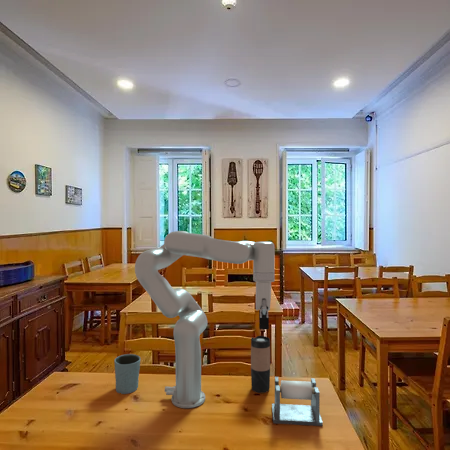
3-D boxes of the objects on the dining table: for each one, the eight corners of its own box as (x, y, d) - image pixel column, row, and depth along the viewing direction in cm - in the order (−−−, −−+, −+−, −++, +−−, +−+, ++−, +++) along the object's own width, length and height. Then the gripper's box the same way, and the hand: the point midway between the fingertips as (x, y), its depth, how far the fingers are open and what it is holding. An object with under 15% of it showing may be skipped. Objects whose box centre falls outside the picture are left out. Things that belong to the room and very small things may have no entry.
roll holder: (273, 423, 112) (273, 390, 112) (271, 406, 122) (271, 376, 122) (322, 426, 111) (322, 392, 110) (317, 409, 121) (317, 378, 120)
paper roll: (277, 401, 114) (277, 384, 114) (276, 393, 120) (276, 377, 120) (317, 403, 113) (317, 386, 113) (314, 394, 118) (314, 378, 118)
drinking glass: (121, 381, 141) (121, 353, 141) (144, 383, 140) (144, 354, 140) (109, 394, 131) (109, 363, 131) (134, 396, 130) (134, 364, 130)
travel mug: (269, 394, 131) (269, 342, 131) (249, 392, 132) (249, 341, 132) (270, 385, 138) (270, 336, 138) (252, 383, 140) (252, 335, 140)
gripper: (253, 272, 129) (253, 317, 129) (252, 280, 112) (252, 332, 112) (273, 273, 128) (273, 318, 128) (275, 281, 111) (275, 333, 111)
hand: (263, 324), depth 120 cm, fingers open, 9 cm apart
